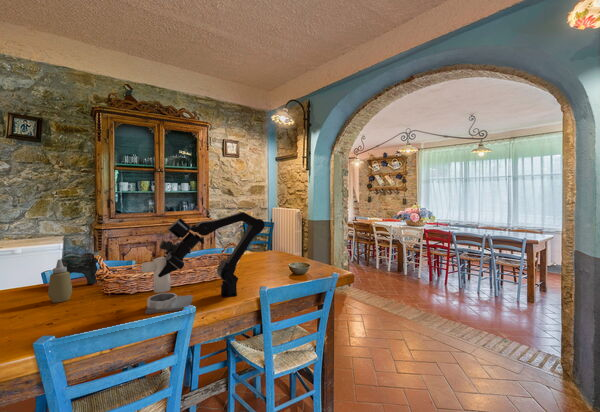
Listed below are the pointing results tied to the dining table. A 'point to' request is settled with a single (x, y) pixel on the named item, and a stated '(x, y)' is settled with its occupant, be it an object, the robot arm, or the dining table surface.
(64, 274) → the squeeze bottle
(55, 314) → the dining table surface
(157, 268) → the duct elbow
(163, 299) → the duct board
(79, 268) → the spray gun
